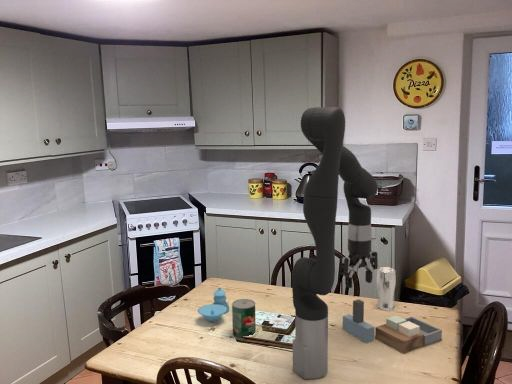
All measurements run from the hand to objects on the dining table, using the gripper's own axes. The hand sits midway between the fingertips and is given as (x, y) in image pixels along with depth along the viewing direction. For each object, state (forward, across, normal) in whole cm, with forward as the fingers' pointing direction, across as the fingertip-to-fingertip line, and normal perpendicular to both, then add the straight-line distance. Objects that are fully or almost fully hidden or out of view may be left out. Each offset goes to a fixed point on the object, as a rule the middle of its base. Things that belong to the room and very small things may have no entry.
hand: (358, 284), depth 156 cm
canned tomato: (+18, -32, +21) cm, 42 cm away
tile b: (+14, +9, -8) cm, 18 cm away
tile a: (+14, +9, -14) cm, 21 cm away
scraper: (+18, 0, 0) cm, 18 cm away
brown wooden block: (+18, +7, -11) cm, 22 cm away
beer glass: (+18, +25, +12) cm, 33 cm away
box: (+18, +16, -11) cm, 26 cm away
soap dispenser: (+18, -34, +39) cm, 55 cm away
